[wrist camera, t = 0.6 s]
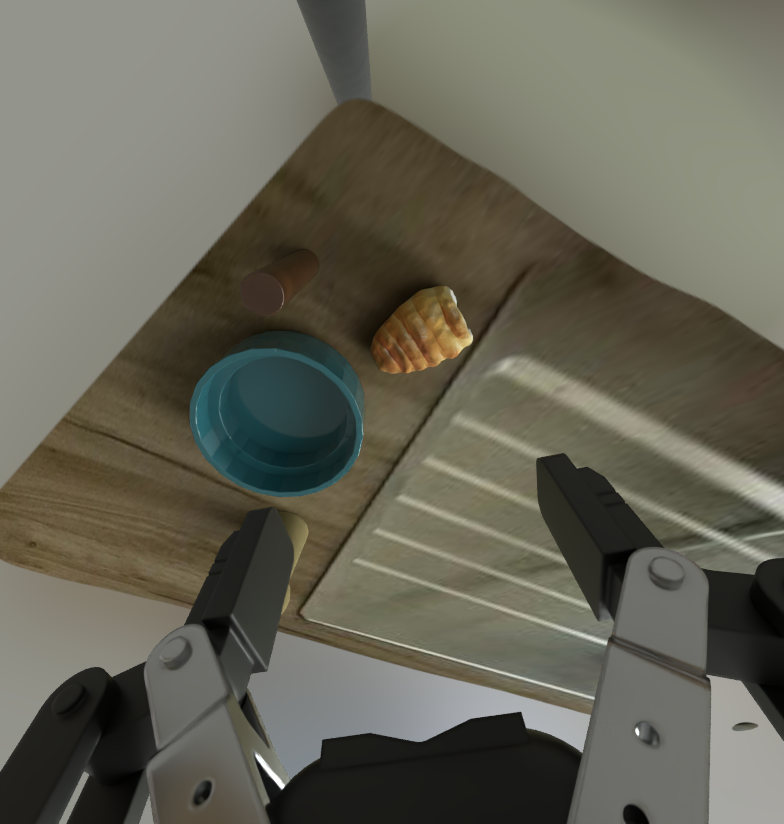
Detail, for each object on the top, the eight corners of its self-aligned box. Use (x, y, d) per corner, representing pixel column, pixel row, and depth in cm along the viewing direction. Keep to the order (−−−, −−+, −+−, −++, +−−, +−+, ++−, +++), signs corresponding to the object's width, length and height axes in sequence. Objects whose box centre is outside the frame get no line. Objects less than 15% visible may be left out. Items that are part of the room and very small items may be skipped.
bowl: (244, 299, 35) (220, 314, 30) (391, 373, 39) (393, 399, 33) (196, 427, 41) (169, 459, 36) (327, 481, 45) (320, 517, 39)
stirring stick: (298, 243, 33) (248, 263, 21) (323, 258, 34) (290, 285, 21) (287, 269, 34) (234, 303, 21) (312, 283, 34) (274, 323, 22)
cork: (318, 533, 48) (303, 614, 39) (283, 554, 50) (259, 637, 40) (285, 503, 46) (259, 581, 36) (249, 526, 47) (215, 607, 38)
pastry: (392, 383, 39) (393, 399, 36) (355, 328, 36) (352, 339, 33) (475, 336, 37) (485, 348, 34) (442, 273, 34) (449, 279, 31)
